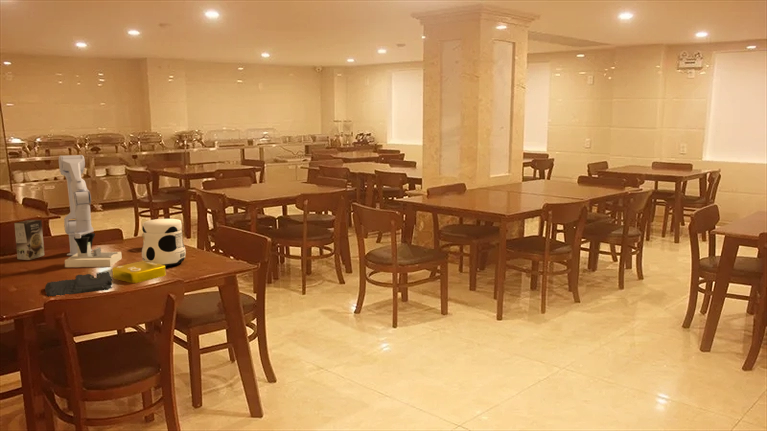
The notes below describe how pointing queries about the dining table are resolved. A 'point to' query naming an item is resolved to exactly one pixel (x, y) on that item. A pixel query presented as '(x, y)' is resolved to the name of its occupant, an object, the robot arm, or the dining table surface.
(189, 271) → the dining table surface
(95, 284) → the dark slate chunk
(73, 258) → the socket
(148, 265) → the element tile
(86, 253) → the plug
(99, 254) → the shutter
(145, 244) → the milk container
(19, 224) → the coffee box
